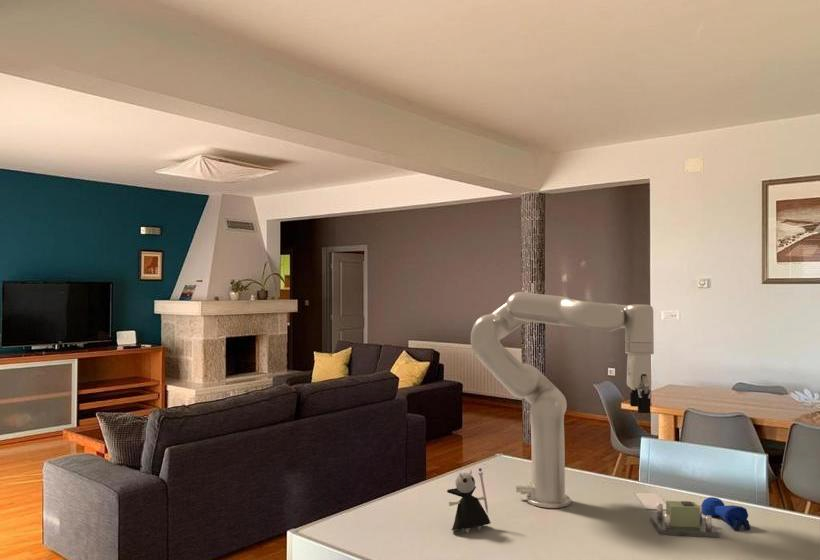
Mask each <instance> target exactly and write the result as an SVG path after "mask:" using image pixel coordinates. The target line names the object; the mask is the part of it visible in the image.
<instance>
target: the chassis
mask: <svg viewBox="0 0 820 560" xmlns="http://www.w3.org/2000/svg"><path fill="white" fill-rule="evenodd" d="M697 506H698V507H699V508H700V527H677V526H671V525H670V514H668V513H666V512H665V513H664V510H663V505H662V504H657V510H656V511H657V512H656V515H650V521H651V523H652V524H653V525H654V527H655V529H656V530H657V532H658V533H659V534H660V536H661V535H665V536H683V537H685V536H686V537H704V538H705V537H706V538H708V537H709V538H719V537H720V532H719V530H717V528H716V527H715V526H714V525H713V523H712V521H713V520H712V518H713V517H712V516H710V515H706V516H705V515H704V516H705V517H703V514H702V506H701V505H699V504H697Z"/></svg>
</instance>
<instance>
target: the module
mask: <svg viewBox="0 0 820 560" xmlns="http://www.w3.org/2000/svg"><path fill="white" fill-rule="evenodd" d="M665 503H666V510H665V513H668V514H670V525H671V526H677V527H700V508H699V507H698V506H697V505H698V504H697V503H696V502H695V501H689V500H688V501H686V500H680V501H679V500H665Z"/></svg>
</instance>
